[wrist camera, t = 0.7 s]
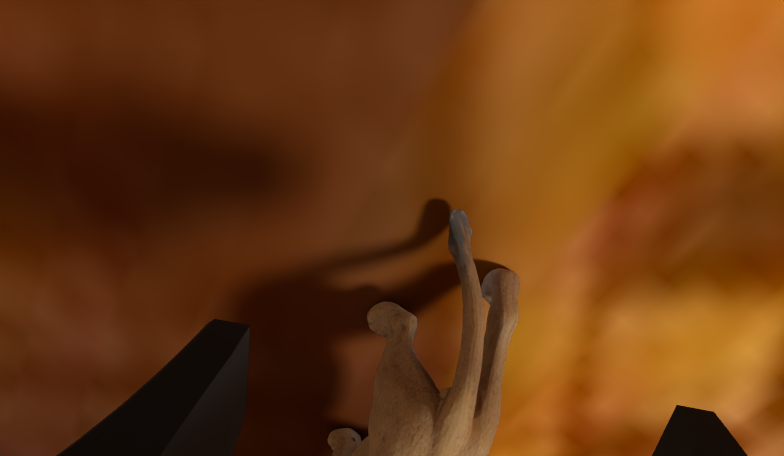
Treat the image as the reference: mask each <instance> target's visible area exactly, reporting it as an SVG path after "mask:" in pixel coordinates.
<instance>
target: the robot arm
mask: <svg viewBox="0 0 784 456" xmlns="http://www.w3.org/2000/svg"><path fill="white" fill-rule="evenodd" d="M249 340H250V325H244V324H239V323H233V322H228V321H223V320H217V319H214V320H212V321H211V322H209V323H208V324H207V325H206V326H205V327H204V328H203V329H202V330H201V331H200V332H199V333H198V334H197V335H196V336H195V337H194V338H193V339H192V340H191V341H190V342H189V343H188V344H187V345H186V346H185V347H184V348H183V349H182V350H181V351H180V352H179V353H178V354H177V355H176V356H175V357H174V358H173V359H172V360H171V361H170V362H169V363H168V364H167V365H165V366H164V367H163V368H162V369H161V370H160V371H159V372H158V373H157V374H156V375H155V376H154V377H152V378H151V379H150V380H149V381H148V382H147V383H146V384H145V385H143V386H142V387H141V388H140V389H139V390H138V391H137V392H136V393H135V394H133V395H132V396H131V397H130V398H129V399H128V400H127V401H125V402H124V403H123V404H122V405H121V406H120V407H118V408H117V409H116V410H115V411H113V412H112V413H111V414H110V415H108V416H107V417H106V418H105V419H103V420H102V421H101V422H100V423H98V424H97V425H96V426H95V427H93V428H92V429H91V430H90V431H88V432H87V433H86V434H85V435H84V436H82V437H81V438H80V439H78V440H77V441H76V442H74V443H73V444H72V445H70V446H69V447H68V448H66V449H65V450H64V451H62V452H61V453H59V454H58V455H57V456H232V455H233V452H234V449H235V446H236V443H237V439H238V436H239V433H240V430H241V427H242V423H243V420H244V417H245V414H246V403H247V382H248V361H249ZM652 456H747V454H746V453H745V452H744V451H743V449H742V448H741V447H740V445H739V444H738V443H737V441H736V440H735V439H734V437H733V436H732V435H731V433H730V432H729V431H728V429H727V428H726V427H725V426H724V424H723V423H722V422H721V420H720V419H719V418H718V417H717V415H716V414H715V413H714V412H711V411H706V410H701V409H695V408H690V407H685V406H679V405H677V406H676V408H675V410H674V412H673V414H672V416H671V418H670V420H669V422H668V424H667V426H666V428H665V430H664V432H663V434H662V436H661V438H660V441H659V443H658V445H657V447H656V449H655V451H654V453H653V455H652Z"/></svg>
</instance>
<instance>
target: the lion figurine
mask: <svg viewBox="0 0 784 456" xmlns="http://www.w3.org/2000/svg"><path fill="white" fill-rule="evenodd" d="M471 235H472V229H471V228H470V226H469V223H468V218H467V216H466V214H465V213H464V212H463V211H462V210H459V209H454V210H452V211H451V213H450V216H449V240H448V244H449V250H450V252H451V254H452V256H453V258H454V261H455V263H456V267H457V270H458V273H459V278H460V282H461V287H462V296H463V331H462V340H461V349H460V355H459V360H458V364H457V369H456V373H455V377H454V380H453V384H452V387H450V388H446V389H444V390H443V391H441V392H439V391H438V389H437V387H436V386H435V383H434V382H433V380H432V379H431V377H430V375H429V374H428V372H427V371H426V370H425V368H424V367H423V365H422V363H421V362H420V360H419V358H418V357H417V354H416V352H415V349H414V346H413V338H414V337H415V335H416V331H417V318H416V317H415V316H414V315H413V314H412V313H410V312H408V311H406V310H405V309H403V308H402V307H400V306H399V305H398V304H395V303H393V302H381V303H378V304H376V305H374V306H373V307H372V308H371V309H370V310H369V312H368V313H367V321H368V324H369V327H370V329H371V330H372V331H373V332H375V333H376V334H377V335H380V336H384V337H388V339H387V344H386V347H385V350H384V352H383V355H382V358H381V361H380V364H379V367H378V370H377V373H376V377H375V382H374V400H373V406H372V409H371V412H370V418H369V424H368V434H369V436H368V437H366V438H365V439H364V440H363V441H362V442H361V437H360V435H359V434H358V433H356V432H355V431H354V430H352V429H350V428H341V429H336V430H333V431H332V432H331V433H330V434H329V437H328V439H327V442H328V444H329V445H330V446H331V448H332V450H334V452H333V454H332V456H488V453H489V450H490V448H491V445H492V442H493V440H494V436H495V432H496V429H497V426H498V423H499V419H500V406H501V386H502V377H503V370H504V364H505V359H506V354H507V350H508V347H509V343H510V340H511V337H512V333H513V331H514V329H515V327H516V325H517V323H518V316H519V313H518V302H517V295H518V291H519V285H520V279H519V276H518V275H517V274H516V273H514V272H513V271H511V270H507V269H502V268H498V269H494V270H492V271H490V272H489V273H488V274H487V275H486V276H485V278H484V280H483V283H482V287H480V283H479V279H478V275H477V270H476V266H475V264H474V261H473V258H472V253H471V243H470V241H471ZM483 297H484V298H485V299H486V300H487V302H488V303H489V304H490V309H489V312H488V317H487V326H486V332H485V336H484V304H483Z"/></svg>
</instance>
